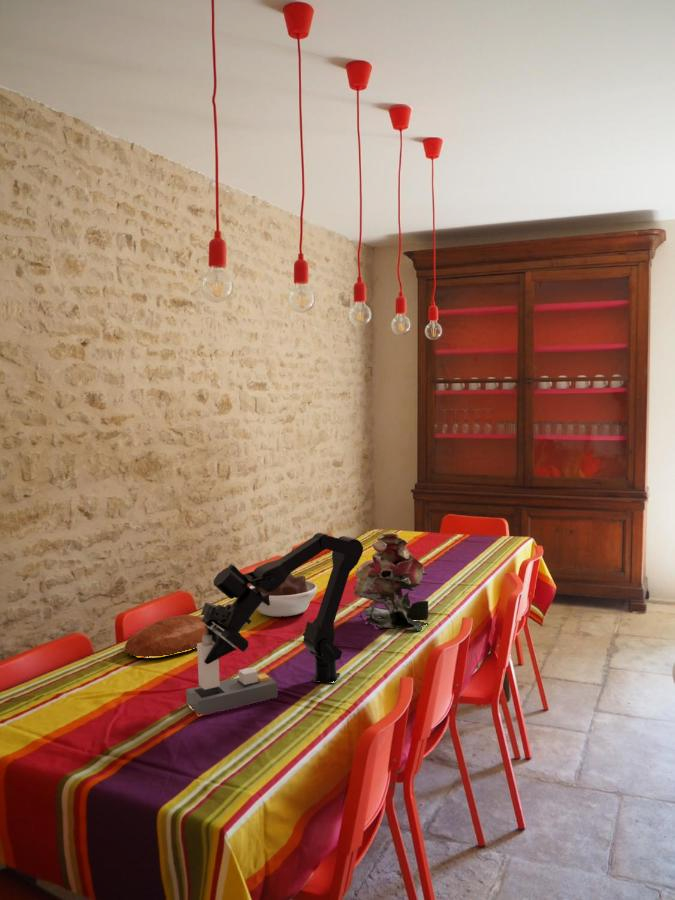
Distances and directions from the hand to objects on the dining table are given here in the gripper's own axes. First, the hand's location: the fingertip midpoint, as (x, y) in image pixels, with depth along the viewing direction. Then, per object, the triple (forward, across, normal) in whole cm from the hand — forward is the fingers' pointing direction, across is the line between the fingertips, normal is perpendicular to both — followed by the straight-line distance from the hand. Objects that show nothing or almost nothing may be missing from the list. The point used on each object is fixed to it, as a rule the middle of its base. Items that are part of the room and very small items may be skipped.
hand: (202, 660), depth 182 cm
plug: (+4, 0, +6) cm, 7 cm away
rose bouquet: (-47, -36, +65) cm, 88 cm away
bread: (+3, -52, +14) cm, 55 cm away
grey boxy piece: (+3, 0, +14) cm, 14 cm away
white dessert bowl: (-28, -64, +46) cm, 84 cm away
